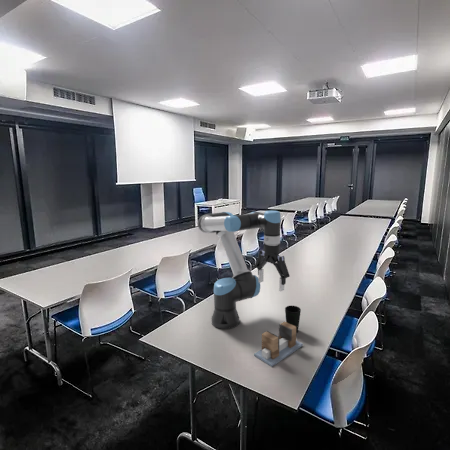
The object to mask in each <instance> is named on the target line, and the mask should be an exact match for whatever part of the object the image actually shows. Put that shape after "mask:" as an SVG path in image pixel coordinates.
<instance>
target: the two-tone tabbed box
mask: <svg viewBox="0 0 450 450" xmlns="http://www.w3.org/2000/svg"><path fill="white" fill-rule="evenodd" d="M264 348H267V349H269V350H270V351H271V359H275V358H276V357H278V356H279V335H277V334H275V333H273V332H272V331H269V330H267V331H264V332H263V333H262V334H261V349H262V350H263V349H264Z"/></svg>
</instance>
